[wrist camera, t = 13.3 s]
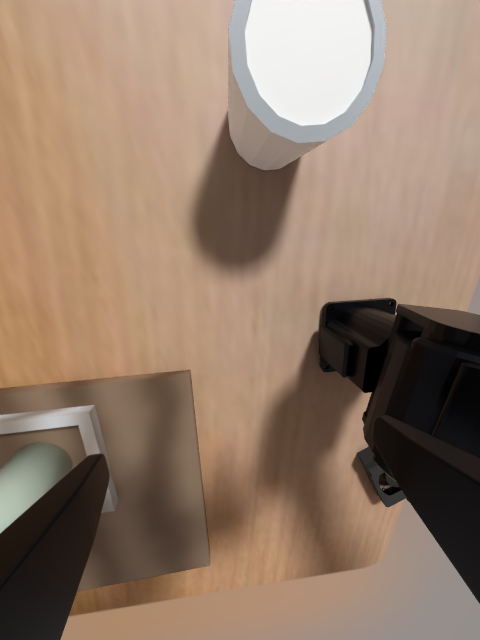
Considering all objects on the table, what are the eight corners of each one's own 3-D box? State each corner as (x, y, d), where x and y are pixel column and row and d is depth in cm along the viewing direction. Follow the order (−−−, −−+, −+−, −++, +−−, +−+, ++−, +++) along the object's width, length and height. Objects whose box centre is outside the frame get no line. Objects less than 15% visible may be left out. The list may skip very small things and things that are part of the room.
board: (190, 370, 21) (188, 382, 19) (210, 554, 28) (210, 576, 27) (-75, 395, 19) (-106, 412, 17) (20, 590, 26) (6, 617, 24)
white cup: (325, 71, 16) (408, -48, 10) (308, 186, 18) (368, 153, 12) (221, 49, 15) (235, -102, 9) (215, 173, 17) (223, 129, 11)
